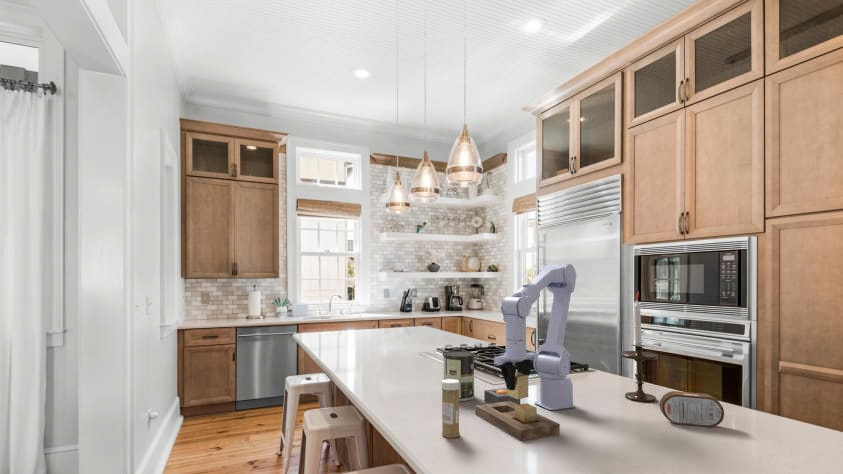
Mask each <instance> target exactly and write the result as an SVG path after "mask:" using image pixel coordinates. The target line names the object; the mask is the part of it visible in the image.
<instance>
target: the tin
mask: <svg viewBox="0 0 843 474" xmlns="http://www.w3.org/2000/svg"><path fill="white" fill-rule="evenodd" d="M659 409H660V411H661V413H662V414H663V416H664V417H665V418H666V420H668V421H669V422H671V423H673V424H675V425H681V426H682V425H683V426H690V427H691V426H692V427H693V426H694V427H703V428H715V427H717V426H718V425H720V424H721V423H722V422H723V421H724V418H725V409H724V407H723V405H722V404H721V403H720V401H719V400H718V399H717V398H716V397H714V396H713V395H712V394H708V393H701V392H699V393H698V392H688V391H687V392H686V391H679V390H678V391H677V390H676V391H675V390H672V391H669V392H667V393H665V394H663V396H662V397H661V399H660V400H659Z"/></svg>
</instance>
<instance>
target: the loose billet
mask: <svg viewBox="0 0 843 474" xmlns="http://www.w3.org/2000/svg"><path fill="white" fill-rule="evenodd" d="M508 396H510V397H513V398H516V399H520V400H522V399H525V398H529V377H528V375H526V374H523V373H519V372H517V371H516V373H515V379H514V390H509V389H508Z"/></svg>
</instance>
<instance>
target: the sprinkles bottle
mask: <svg viewBox="0 0 843 474" xmlns="http://www.w3.org/2000/svg"><path fill="white" fill-rule="evenodd" d="M441 392H442V393H441V395H442V396H441V398H442V400H441V422H442V423H441V424H442V425H441V426H442V430H441V431H442V432H441V435H442V436H443V437H445V438H450V439H452V438H453V439H454V438H457V437H459V436H460V433H461V432H460V401H459V381H458V380H455V379H445V380H444V379H442V380H441Z"/></svg>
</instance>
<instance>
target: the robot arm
mask: <svg viewBox="0 0 843 474" xmlns="http://www.w3.org/2000/svg"><path fill="white" fill-rule="evenodd" d="M576 280H577V271H576V270H575V267H574V265H573V264H572V263H565V264H548V263H543V265H542V266H541V267H540V268H539V273H538V274H537V275H536V277H535V278H534V279H533V280H532V282H524V283H522V286H521V287H520V288H519V289H518V290H517V291H515V292H514V294H512V296H506V297H505V298H504V299H503V300H502V302H501V306H500V312H501V314H502V316H503V317H502V318H503V319H502V320H503V321H504V322H503V323H505V327H504V328H505V329H504V330H505V333H504V335H505V352H504V353H503V354H502V355H497V356H494V357H493V359H494V360H493V364H494V365H497V367H498V368H499V369H500V371H501V374H502V377H503V379H504V383H505V386H506V387H505V388H507V389H509V390H514V379H515V373H516V372H519V373H523V374H526V375H528V378H529V376H530V373H531V371H532V370H533V368H534V370H535V372H536V373H537V376H539V395H540V396H539V398H540V400H538V401H534V403H533V404H535V405H537V406H539V407H542V408H544V409H545V410H548V411H555V410H556V411H558V410H562V409H570V408H575V407H576V405H575V404H574V394H573V393H574V390H573V389H574V388H573V382H572V379H571V378H570V377H569V376H568V375H569V373H570V370H571V363H570V362H571V359H570V358H571V354H570V352H569V351H568V350H567V349H566V348H565V347H564V341H565V335H566V328H567V321H568V316H569V309H570V304H571V303H570V302H571V296H572V293H574V292H575V287H576V282H577V281H576ZM545 288H546V289H547V290H548V291H549V292H550V293H552V294H553V299H552V305H551V308H550V309H551V311H550V317H549V322H548V327H547V333H546V339H545V342H544V343H543V344H542V345H540V346H539V347H537V351H536V352H527V324H526V323H527V322H526V319H527V317H529V314H530V312H531V309H532V306H533V305H534V303H536V301H537V300H538V299H539V298H540V297H541V291H542V290H544V289H545ZM514 364H515V365H514Z"/></svg>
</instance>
